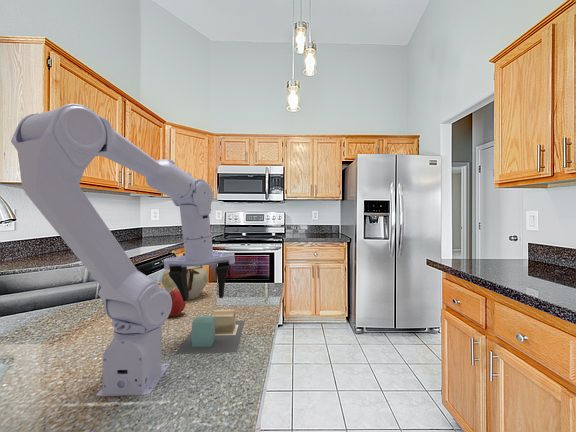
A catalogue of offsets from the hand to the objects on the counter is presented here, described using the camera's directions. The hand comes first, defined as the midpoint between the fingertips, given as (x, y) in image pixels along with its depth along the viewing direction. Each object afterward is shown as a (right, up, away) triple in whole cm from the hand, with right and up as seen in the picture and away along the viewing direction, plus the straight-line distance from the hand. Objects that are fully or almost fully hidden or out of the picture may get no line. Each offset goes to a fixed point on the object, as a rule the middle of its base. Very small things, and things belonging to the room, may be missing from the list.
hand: (203, 297), depth 65 cm
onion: (-13, -10, +16) cm, 23 cm away
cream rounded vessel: (-17, -10, +37) cm, 42 cm away
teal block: (0, -9, -1) cm, 9 cm away
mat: (+2, -10, +3) cm, 10 cm away
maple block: (+3, -9, +6) cm, 11 cm away
